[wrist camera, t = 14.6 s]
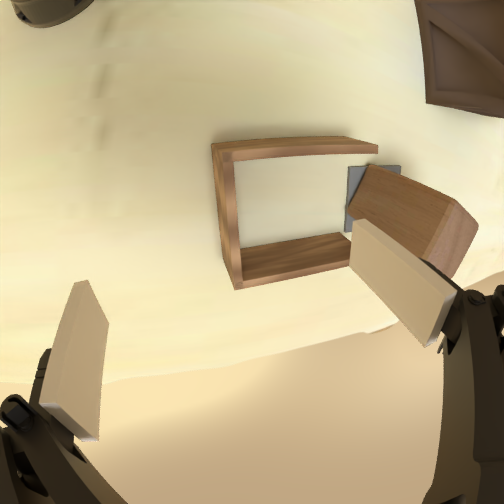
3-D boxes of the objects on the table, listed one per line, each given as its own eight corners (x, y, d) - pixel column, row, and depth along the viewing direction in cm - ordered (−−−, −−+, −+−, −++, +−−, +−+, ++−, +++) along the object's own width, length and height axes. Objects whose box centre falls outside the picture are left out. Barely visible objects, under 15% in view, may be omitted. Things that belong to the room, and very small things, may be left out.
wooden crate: (411, -6, 31) (512, -20, 9) (476, 27, 35) (556, 34, 13) (424, 103, 43) (533, 128, 21) (483, 115, 47) (564, 141, 26)
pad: (348, 166, 45) (350, 167, 44) (398, 165, 47) (401, 166, 47) (343, 231, 51) (345, 232, 50) (392, 223, 53) (394, 224, 53)
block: (401, 183, 49) (482, 225, 32) (379, 229, 52) (451, 283, 35) (367, 161, 45) (458, 199, 28) (343, 212, 48) (422, 269, 31)
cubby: (211, 143, 38) (221, 152, 30) (343, 136, 42) (378, 145, 35) (223, 258, 47) (234, 290, 39) (338, 238, 51) (366, 261, 44)
